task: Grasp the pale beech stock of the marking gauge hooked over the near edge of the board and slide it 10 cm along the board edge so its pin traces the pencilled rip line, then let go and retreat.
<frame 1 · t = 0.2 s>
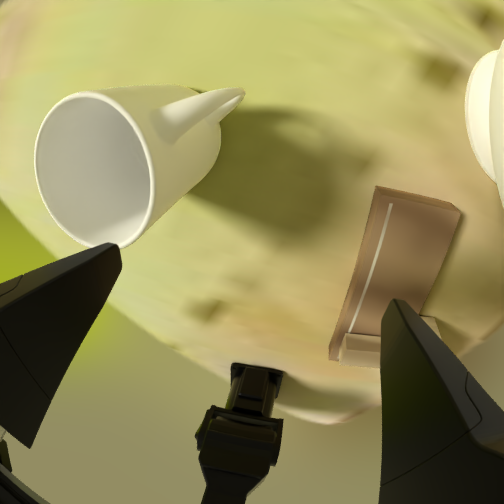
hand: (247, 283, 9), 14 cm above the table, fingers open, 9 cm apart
board: (386, 286, 24), on the table
mug: (191, 125, 21), on the table
gauge: (391, 362, 23), point 4 cm above the table, slide at 0.0 cm
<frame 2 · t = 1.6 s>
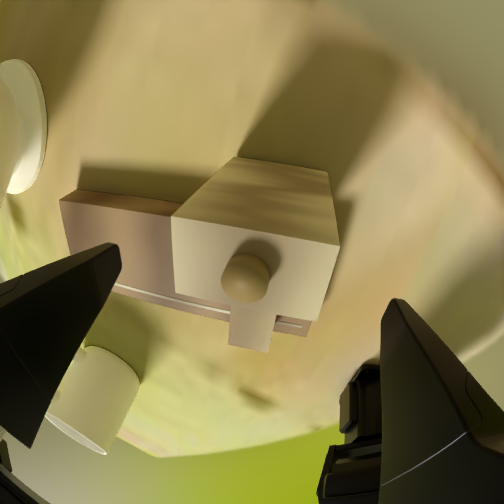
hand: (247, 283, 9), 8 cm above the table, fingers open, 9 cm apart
board: (184, 251, 19), on the table
mug: (104, 356, 30), on the table
decorative vase: (9, 126, 16), on the table
gauge: (256, 286, 14), point 4 cm above the table, slide at 0.0 cm
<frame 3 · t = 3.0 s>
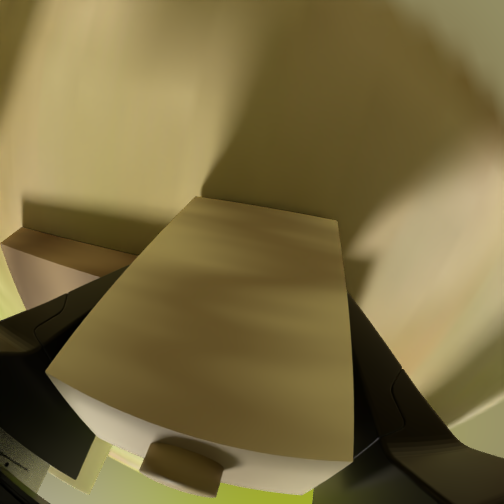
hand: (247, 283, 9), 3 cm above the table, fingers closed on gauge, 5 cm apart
board: (145, 311, 14), on the table
mug: (82, 393, 25), on the table
gauge: (227, 392, 9), point 4 cm above the table, slide at 0.0 cm, touching gripper
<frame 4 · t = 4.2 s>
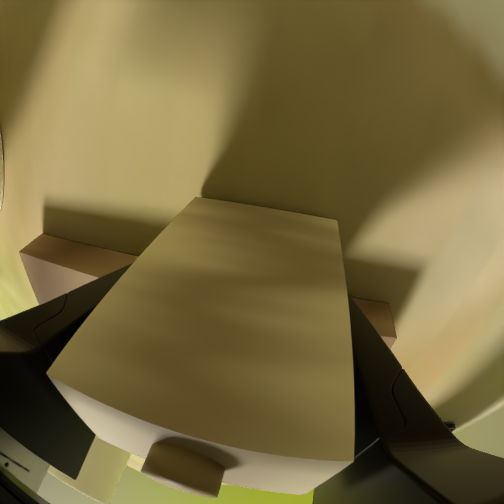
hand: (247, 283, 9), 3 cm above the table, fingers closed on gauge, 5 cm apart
board: (184, 322, 14), on the table
mug: (98, 401, 25), on the table
gauge: (228, 393, 9), point 4 cm above the table, slide at 2.2 cm, touching gripper
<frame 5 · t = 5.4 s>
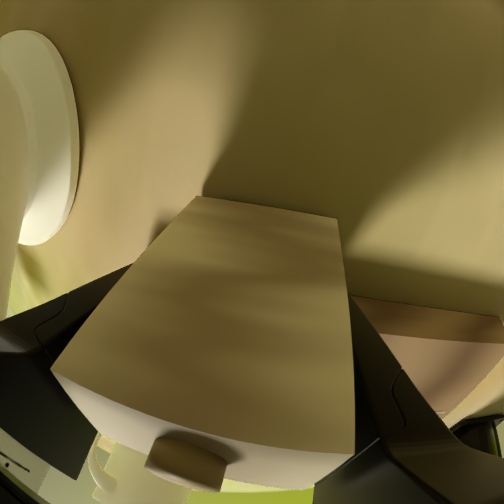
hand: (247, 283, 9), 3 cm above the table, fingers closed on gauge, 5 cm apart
board: (327, 348, 13), on the table
mug: (156, 424, 25), on the table
decorative vase: (10, 139, 11), on the table, touching arm, gripper
gauge: (229, 390, 9), point 4 cm above the table, slide at 9.4 cm, touching gripper
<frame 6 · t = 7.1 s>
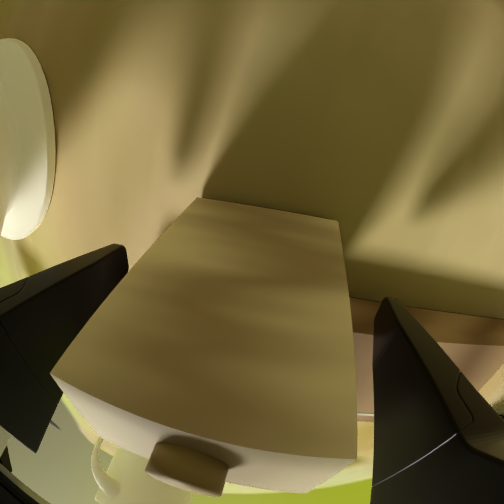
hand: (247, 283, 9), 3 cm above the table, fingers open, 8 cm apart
board: (335, 351, 13), on the table
mug: (159, 427, 24), on the table
gauge: (229, 392, 9), point 4 cm above the table, slide at 9.8 cm
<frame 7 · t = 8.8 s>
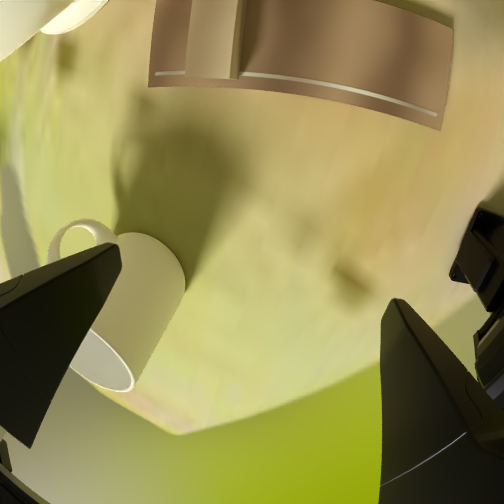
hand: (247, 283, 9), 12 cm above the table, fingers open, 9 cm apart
board: (301, 43, 14), on the table
mug: (137, 253, 25), on the table
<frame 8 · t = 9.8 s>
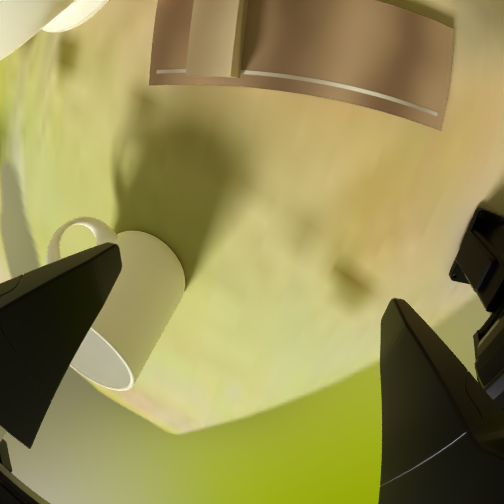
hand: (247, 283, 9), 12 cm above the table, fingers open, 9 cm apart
board: (302, 42, 14), on the table
mug: (137, 252, 25), on the table
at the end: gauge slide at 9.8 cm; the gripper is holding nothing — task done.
